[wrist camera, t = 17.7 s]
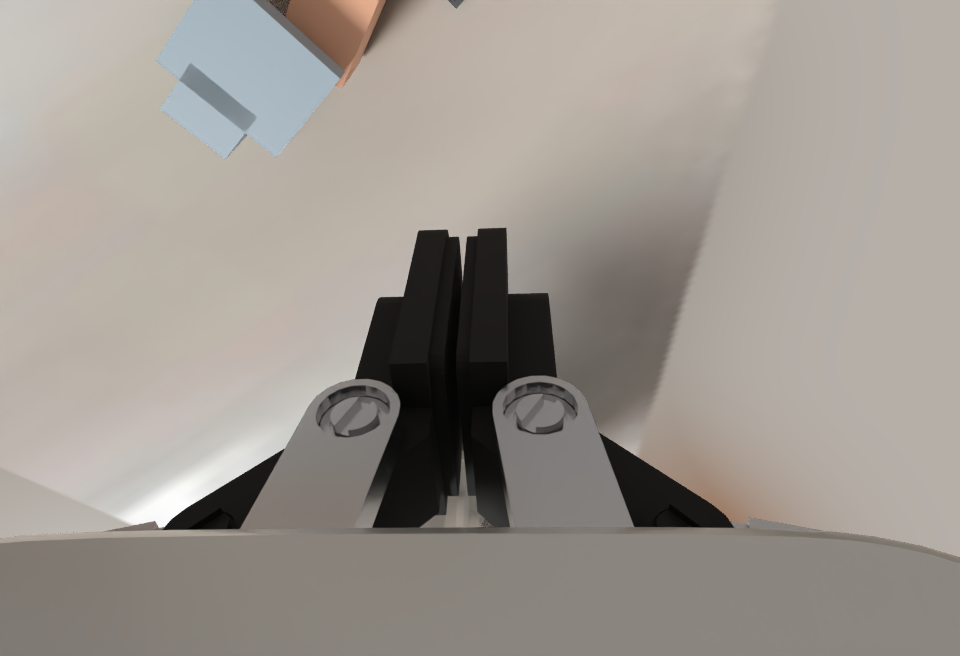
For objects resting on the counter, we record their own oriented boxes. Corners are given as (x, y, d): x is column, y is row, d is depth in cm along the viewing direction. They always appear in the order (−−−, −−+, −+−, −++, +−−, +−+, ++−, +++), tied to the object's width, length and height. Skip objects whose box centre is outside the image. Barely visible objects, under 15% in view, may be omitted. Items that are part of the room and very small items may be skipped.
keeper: (366, 41, 30) (340, 78, 25) (292, 133, 32) (255, 182, 27) (265, -54, 27) (215, -34, 23) (195, 53, 30) (136, 91, 25)
